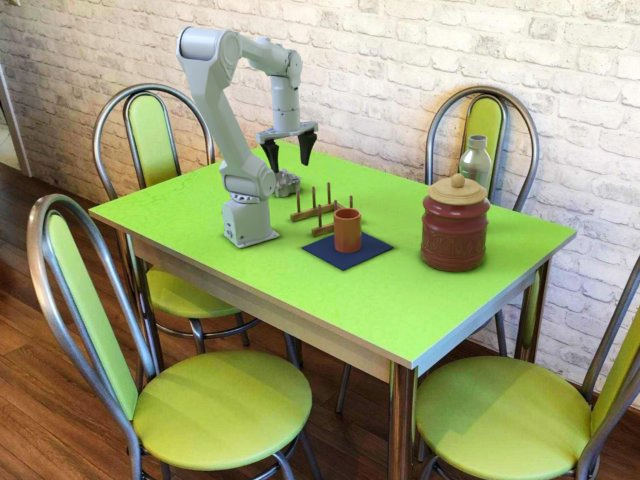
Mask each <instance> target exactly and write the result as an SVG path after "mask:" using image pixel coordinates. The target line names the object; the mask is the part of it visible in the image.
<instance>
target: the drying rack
mask: <svg viewBox="0 0 640 480" xmlns="http://www.w3.org/2000/svg"><path fill="white" fill-rule="evenodd" d="M326 190H327V191H326V192H327V203H326V204H317V203H316V202H317V200H316V199H317V198H316V187H315V186H314V185H313V186H311V197H312V198H311V199H312V200H311V201H312V207H311V208H308V209H304V210H301V199H300V198H301V195H300V194H301V193H300V192H299V191H298V190H297V191H296V193H295V194H296V196H295V197H296V212H294V213H290V215H289V218H290V221H291V222H296V221H301V220H304V219H308V218H312V217H314V216H317V218H318V219H317V220H318V226H317V227H314V228H311V229H310V230H311V236H312V237H314V238H315V237H318V236H321V235H324V234H327V233H332V232H334V221H333V222H330V223H327V224H324V225H323V217H322V216H323V215H322V214H324V213H328V212H331V211H333V213H334V212H335V211H336V210H338V209H342V208H346V207H345V206H344V205H342V204H341V203H339V202H338V200H337V199H333V201H332V200H331V199H332V197H331V196H332V194H331V192H332V191H331V182H329V181H327V183H326ZM348 198H349V199H348V200H349V208H353V209H354V197H353V195H352V194H351V195H349V197H348Z"/></svg>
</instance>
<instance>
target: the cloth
mask: <svg viewBox="0 0 640 480" xmlns="http://www.w3.org/2000/svg"><path fill="white" fill-rule="evenodd" d="M361 242H362V244H361V249H360V250H358V251H356V252H353V253H342V252H339V251H337V250H336V249H335V245H334V233H333V234H330V235H328V236H325V237H323V238H321V239H318V240H316V241H313V242H311V243H308V244H305V245H303V246H301V249H302V250H304V251H306V252H307V253H309V254H311V255H312V256H315V257H317V258H318V259H319V260H322V261H324V262H326V263H328V264H329V265H331V266H333V267H335V268H337V269H339V270H340V271H342V272H344V271H346V270H349V269H351V268H353V267H355V266H357V265H360V264H362V263H364V262H367V261H368V260H370V259H373V258H376V257H377V256H380V255H381V254H384V253H386V252H389V251H391V250H393V249H394V248H395V246H394V245H391V244H389V243H387V242H385V241H383V240H381V239H378V238H376V237H375V236H372V235H370V234H368V233H366V232H363V231H362V230H361Z"/></svg>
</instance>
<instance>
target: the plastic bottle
mask: <svg viewBox="0 0 640 480" xmlns="http://www.w3.org/2000/svg"><path fill="white" fill-rule="evenodd" d="M487 143H488V137H487V136H486V135H483V134H472V135H469V136H468V140H467V144H466V145H467V150H466V151H464V153H463V154H462V155H461V156H460V159H459V161H458V163H459V164H458V167H459V174H462V175H463V176H464V178H466V179H470V180H473V181H475V182H477V183H478V184H479V185H481V186H482V187H484V188H485V189H486V191H487V188H488V182H489V177H490V173H491V170H492V169H491V168H492V158H491V157H490V155H489V153H488V151H487V150H486V149H487V148H488V144H487Z"/></svg>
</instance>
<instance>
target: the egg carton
mask: <svg viewBox="0 0 640 480" xmlns="http://www.w3.org/2000/svg"><path fill="white" fill-rule="evenodd" d="M274 174H275V178H276V186H275V189H274V192H273V194H274V193H275V196H276V197H277V198H287V197H289V194H296V191H297V190H298V191H299V193H300V191H301V188H302V187H301V186H302V185H301V180H302V179H303V176H301V177H300V176H298V175H296V174H295V173H293V172H291V171H288V169H287V168H279V173H274Z"/></svg>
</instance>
